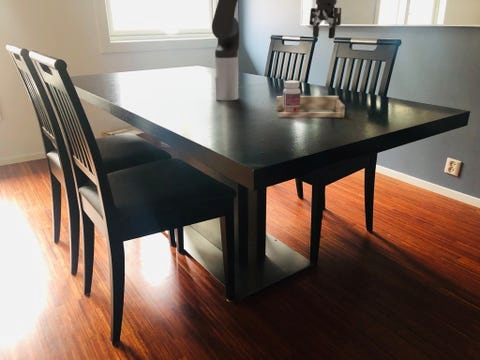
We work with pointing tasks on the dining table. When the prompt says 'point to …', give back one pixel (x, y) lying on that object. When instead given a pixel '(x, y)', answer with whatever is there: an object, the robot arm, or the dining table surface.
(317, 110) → the front slot
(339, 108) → the tray
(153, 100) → the dining table surface
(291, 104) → the pill bottle
